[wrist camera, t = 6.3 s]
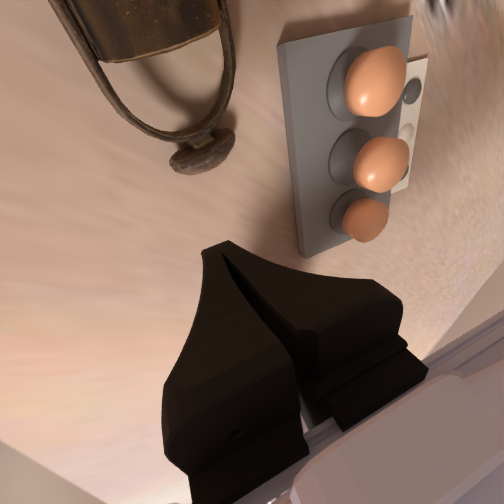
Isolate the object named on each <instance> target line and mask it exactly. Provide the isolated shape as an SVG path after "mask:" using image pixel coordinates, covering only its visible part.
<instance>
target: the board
mask: <svg viewBox="0 0 504 504" xmlns="http://www.w3.org/2000/svg"><path fill="white" fill-rule="evenodd" d="M412 20H413V15H411V16H407V17H402V18H397V19H393V20H388V21H383V22H379V23H374V24H369V25H365V26H360V27H355V28H351V29H346V30H341V31H337V32H332V33H327V34H323V35H318V36H314V37H309V38H304V39H300V40H295V41H290V42H286V43H283V44H281V45H279V46H277V54H278V63H279V72H280V81H281V90H282V99H283V108H284V117H285V126H286V135H287V144H288V153H289V162H290V171H291V180H292V189H293V198H294V207H295V216H296V225H297V234H298V243H299V252H300V255H302V256H303V257H304V258H305V259H307V258H309V257H312V256H314V255H316V254H318V253H321V252H323V251H325V250H328V249H330V248H332V247H334V246H337V245H339V244H341V243H343V242H346V241H348V240H350V239H353V238H352V237H351V236H349V235H347V234H346V233H345V232H344V230H343V227H342V222H343V218H344V215H345V213H346V211H347V209H348V208H349V207H350V205H351V204H352V203H353V202H355V201H356V200H358V199H360V198H363V197H368V198H371V199H373V200H376V201H379V202H381V203H384V204H385V205H386V206H387V208H388V212H389V204H390V196H391V189H390V190H388V191H386V192H383V193H378V192H375V191H372V190H369V189H366V188H363V187H361V186H359V185H358V184H357V183H356V181H355V179H354V175H353V168H354V163H355V160H356V157H357V155H358V153H359V151H360V150H361V148H362V147H363V146H364V145H365V144H366V143H367V142H368V141H369V140H371V139H372V138H375V137H380V136H381V137H390V138H398V132H399V124H400V116H401V108H402V100H403V92H404V88H403V91H402V93H401V95H400V97H399V99H398V101H397V102H396V104H395V105H394V106H393V108H392V109H391V110H390V111H388V112H387V113H386V114H384V115H382V116H378V117H371V116H356V115H354V114H352V113H351V112H350V111H349V110H348V108H347V106H346V104H345V100H344V82H345V78H346V75H347V72H348V70H349V68H350V66H351V64H352V63H353V61H354V60H355V59H356V58H357V57H358V56H359V55H360V54H362V53H364V52H366V51H369V50H373V49H377V48H381V47H385V46H394V47H397V48H398V49H399V50H400V51H401V52H402V54H403V56H404V58H405V62H406V68H407V60H408V52H409V44H410V36H411V28H412ZM386 224H387V223H386Z"/></svg>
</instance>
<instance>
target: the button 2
mask: <svg viewBox="0 0 504 504" xmlns="http://www.w3.org/2000/svg"><path fill="white" fill-rule="evenodd" d="M405 80H406V62H405V58H404V56H403V54H402V52H401V51H400V50H399V49H398V48H397V47H394V46H385V47H381V48H377V49H373V50H369V51H366V52H364V53H362V54H360V55H359V56H358V57H357V58H356V59H355V60H354V61H353V63H352V64H351V66H350V68H349V70H348V72H347V75H346V78H345V82H344V100H345V104H346V106H347V108H348V110H349V111H350V112H351V113H352V114H354V115H356V116H371V117H378V116H382V115H384V114H386V113H387V112H388V111H390V110H391V109H392V108H393V106H394V105H395V104H396V102H397V101H398V99H399V97H400V95H401V93H402V91H403V88H404V84H405Z"/></svg>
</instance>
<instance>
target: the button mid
mask: <svg viewBox="0 0 504 504" xmlns="http://www.w3.org/2000/svg"><path fill="white" fill-rule="evenodd" d="M409 157H410V152H409V147H408V144H407V143H406V142H405V141H404V140H403V139H399V138H390V137H381V136H380V137H375V138H372V139H371V140H369V141H368V142H367V143H366V144H365V145H364V146H363V147H362V148H361V150H360V151H359V153H358V155H357V157H356V160H355V163H354V168H353V175H354V179H355V181H356V183H357V184H358V185H359V186H361V187H363V188H366V189H369V190H372V191H375V192H378V193H383V192H386V191H388V190H390V189H392V188H393V187H394V186H395V185H396V184H397V183H398V182H399V181H400V180H401V178H402V177H403V175H404V173H405V171H406V169H407V166H408V163H409Z"/></svg>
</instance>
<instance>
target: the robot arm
mask: <svg viewBox="0 0 504 504" xmlns="http://www.w3.org/2000/svg"><path fill="white" fill-rule="evenodd" d="M201 255H202V259H203V279H202V288H201V295H200V300H199V304H198V308H197V312H196V315H195V318H194V322H193V325H192V328H191V330H190V333H189V335H188V338H187V340H186V342H185V345H184V347H183V349H182V352H181V354H180V356H179V358H178V360H177V362H176V363H175V365H174V367H173V369H172V371H171V373H170V375H169V376H168V378H167V380H166V382H165V384H164V387H163V397H162V416H161V424H162V436H163V445H164V454H165V456H166V457H167V459H168V460H169V461H170V462H171V463H173V464H174V465H175V466H176V467H178V468H179V469H180V470H181V471H183V472H184V473H185V474H186V475H188V479H189V486H190V492H191V499H192V504H504V310H502V311H501V312H499V313H497V314H496V315H494V316H493V317H491V318H489V319H488V320H486V321H485V322H483V323H481V324H480V325H478V326H476V327H475V328H473V329H472V330H470V331H468V332H467V333H465V334H464V335H462V336H460V337H459V338H457V339H456V340H454V341H452V342H451V343H449V344H447V345H446V346H444V347H443V348H441V349H439V350H438V351H436V352H435V353H433V354H431V355H430V356H428V357H427V358H425V359H423V360H422V361H420V360H419V359H418V358H417V357H416V356H414V355H413V354H412V353H411V352H410V351H409V350H408V349H407V348H406V347H407V346H408V344H407V342H406V341H405V340H404V339H403V338H402V337H401V336H399V335H398V331H399V327H400V323H401V320H402V315H403V305H402V301H401V300H400V299H399V298H398V297H397V296H395V295H394V294H393V293H391V292H390V291H389V290H387V289H386V288H385V287H383V286H382V285H380V284H379V283H377V282H376V281H374V280H373V279H354V278H339V277H331V276H323V275H317V274H312V273H307V272H302V271H298V270H294V269H291V268H287V267H284V266H281V265H278V264H275V263H272V262H270V261H267V260H265V259H263V258H261V257H259V256H257V255H254V254H252V253H250V252H249V251H247V250H245V249H243V248H241V247H239V246H238V245H236V244H234V243H233V242H231V241H229V240H227V241H225V242H222V243H219V244H217V245H214V246H212V247H209V248H207V249H204V250H202V252H201Z"/></svg>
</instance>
